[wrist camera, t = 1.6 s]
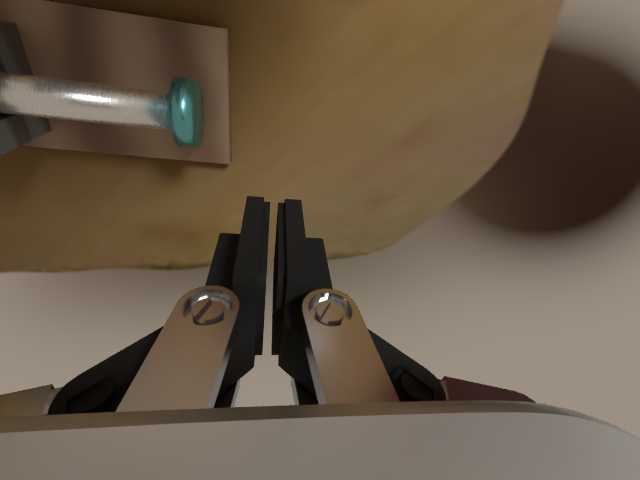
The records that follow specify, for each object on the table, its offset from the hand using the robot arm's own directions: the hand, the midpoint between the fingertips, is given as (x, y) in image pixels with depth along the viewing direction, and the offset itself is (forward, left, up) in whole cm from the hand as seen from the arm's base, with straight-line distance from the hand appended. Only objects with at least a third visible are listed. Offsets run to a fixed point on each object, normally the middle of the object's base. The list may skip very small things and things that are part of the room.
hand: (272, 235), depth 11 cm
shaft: (0, -16, -16) cm, 23 cm away
